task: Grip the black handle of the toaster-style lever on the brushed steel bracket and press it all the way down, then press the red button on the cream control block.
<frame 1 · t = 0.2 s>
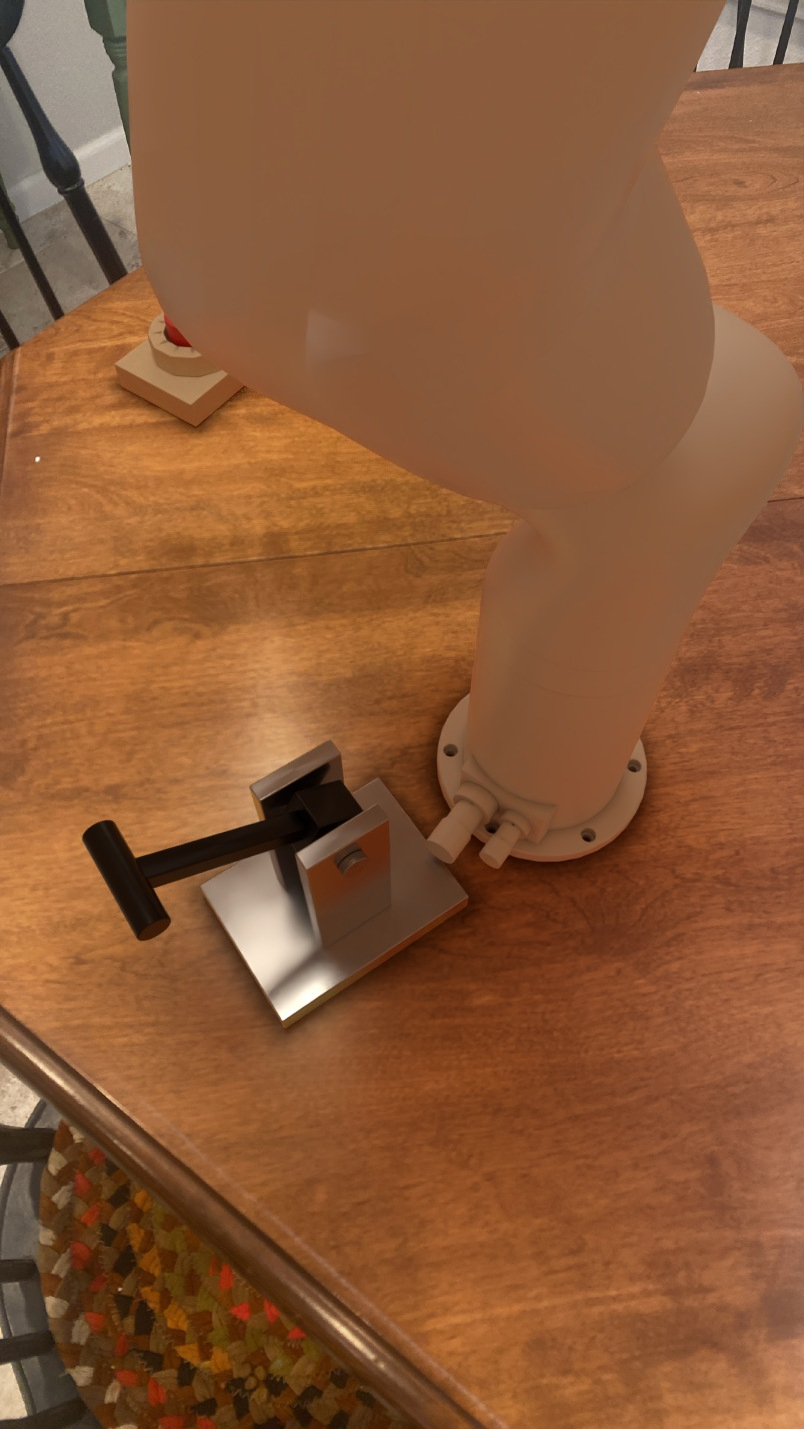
bracket: (335, 900, 54), on the table
dessert: (561, 301, 81), on the table
button: (189, 323, 73), point 4 cm above the table, slide at 0.1 cm
lever: (238, 844, 41), point 13 cm above the table, hinge at 30.0°
button block: (200, 371, 76), on the table
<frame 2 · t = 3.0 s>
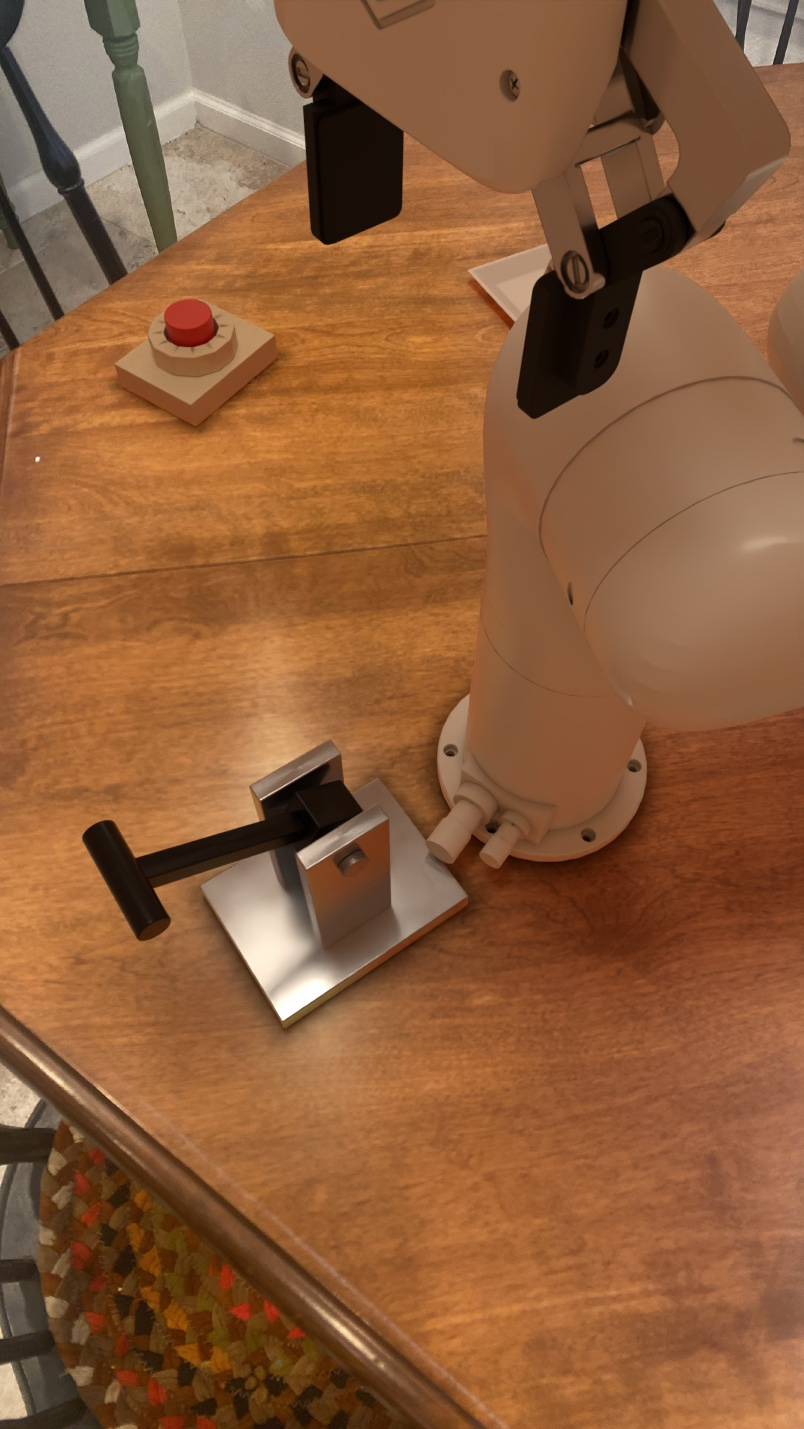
hand: (453, 304, 28), 33 cm above the table, tool pointing down, fingers open, 9 cm apart
nothing on the table moved.
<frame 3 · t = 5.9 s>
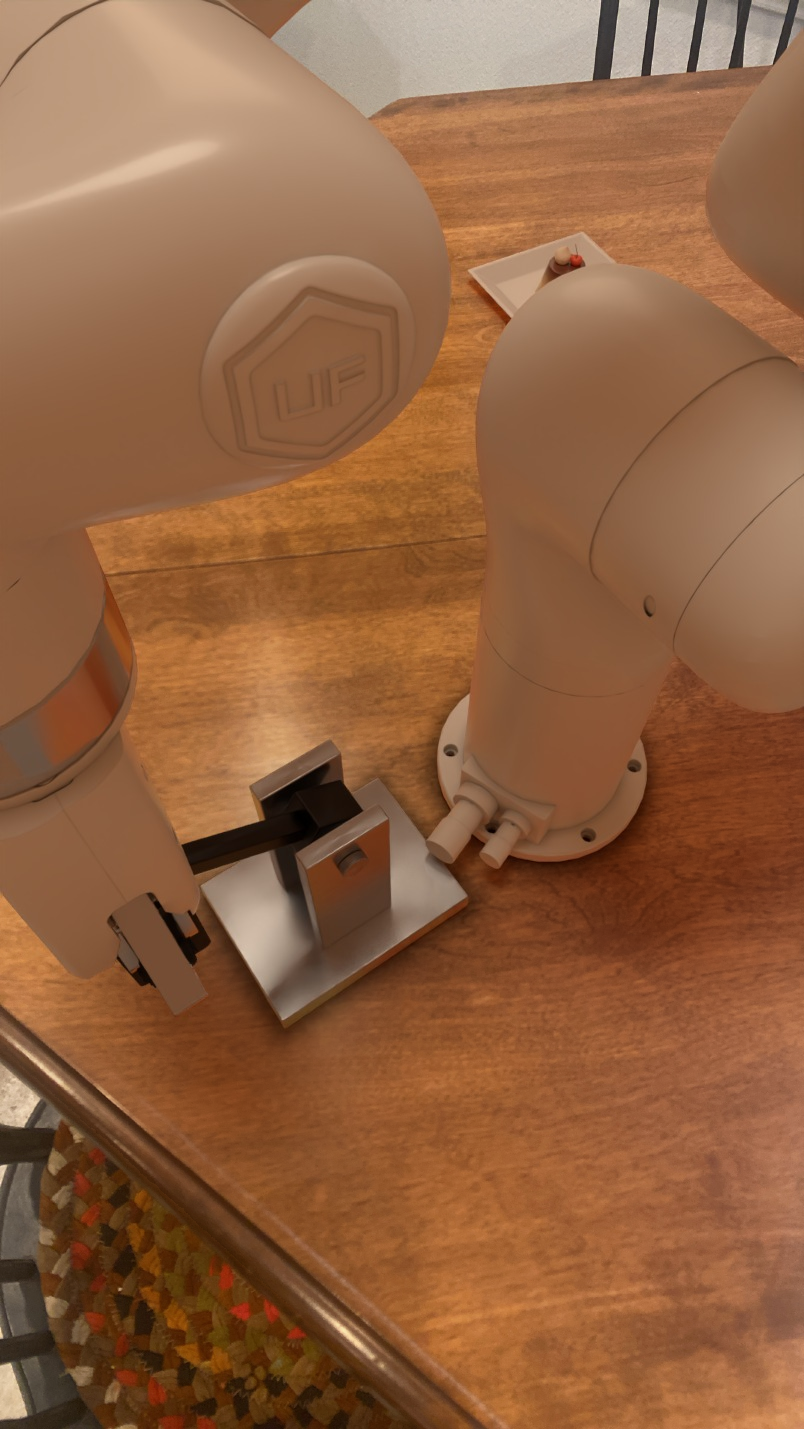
hand: (141, 901, 40), 13 cm above the table, tool pointing down, fingers closed on lever, 5 cm apart
lever: (238, 844, 41), point 13 cm above the table, hinge at 30.0°, touching gripper
everything else where it was.
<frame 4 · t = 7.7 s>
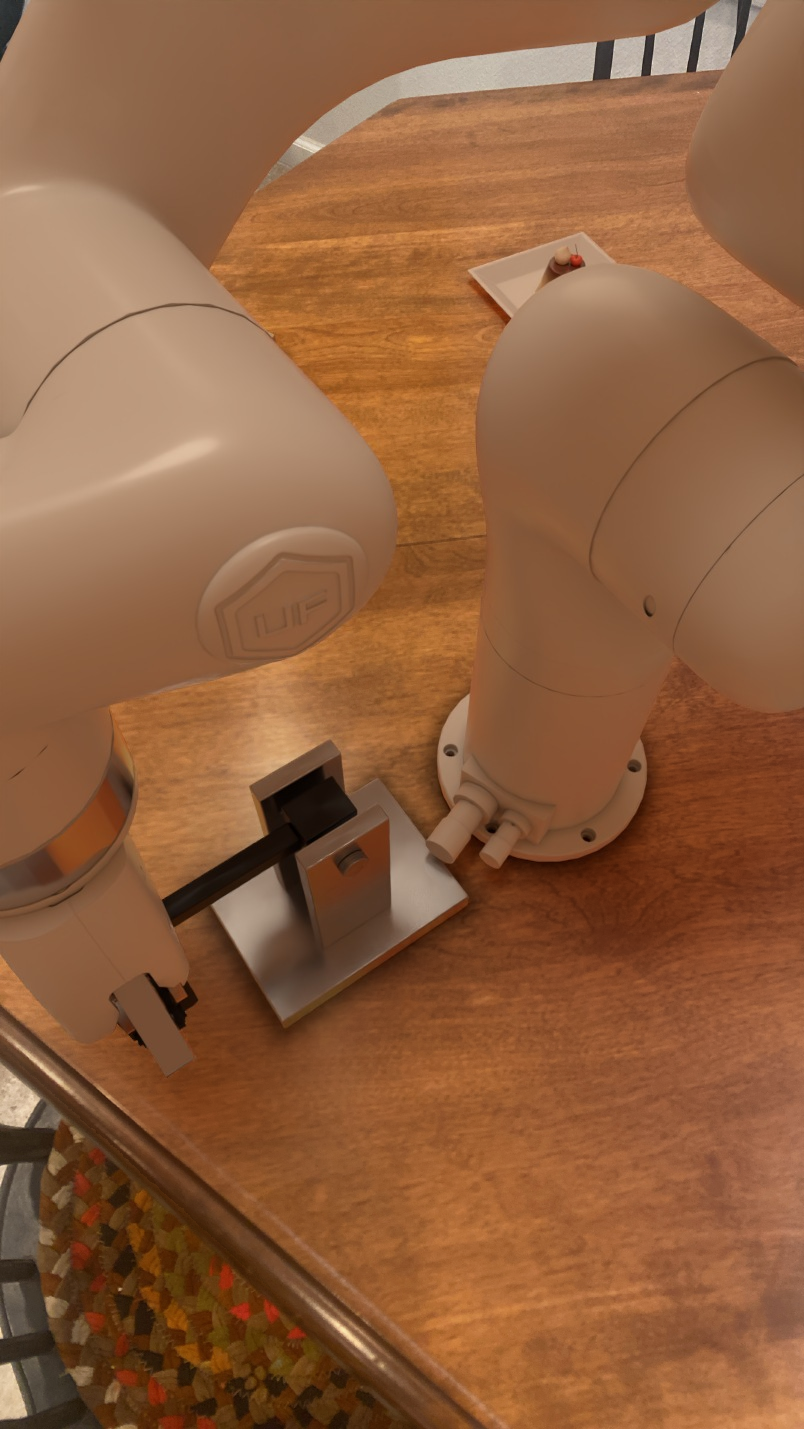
hand: (135, 962, 44), 8 cm above the table, tool pointing down, fingers closed on lever, 5 cm apart
lever: (234, 872, 43), point 11 cm above the table, hinge at -1.1°, touching gripper
everything else where it was.
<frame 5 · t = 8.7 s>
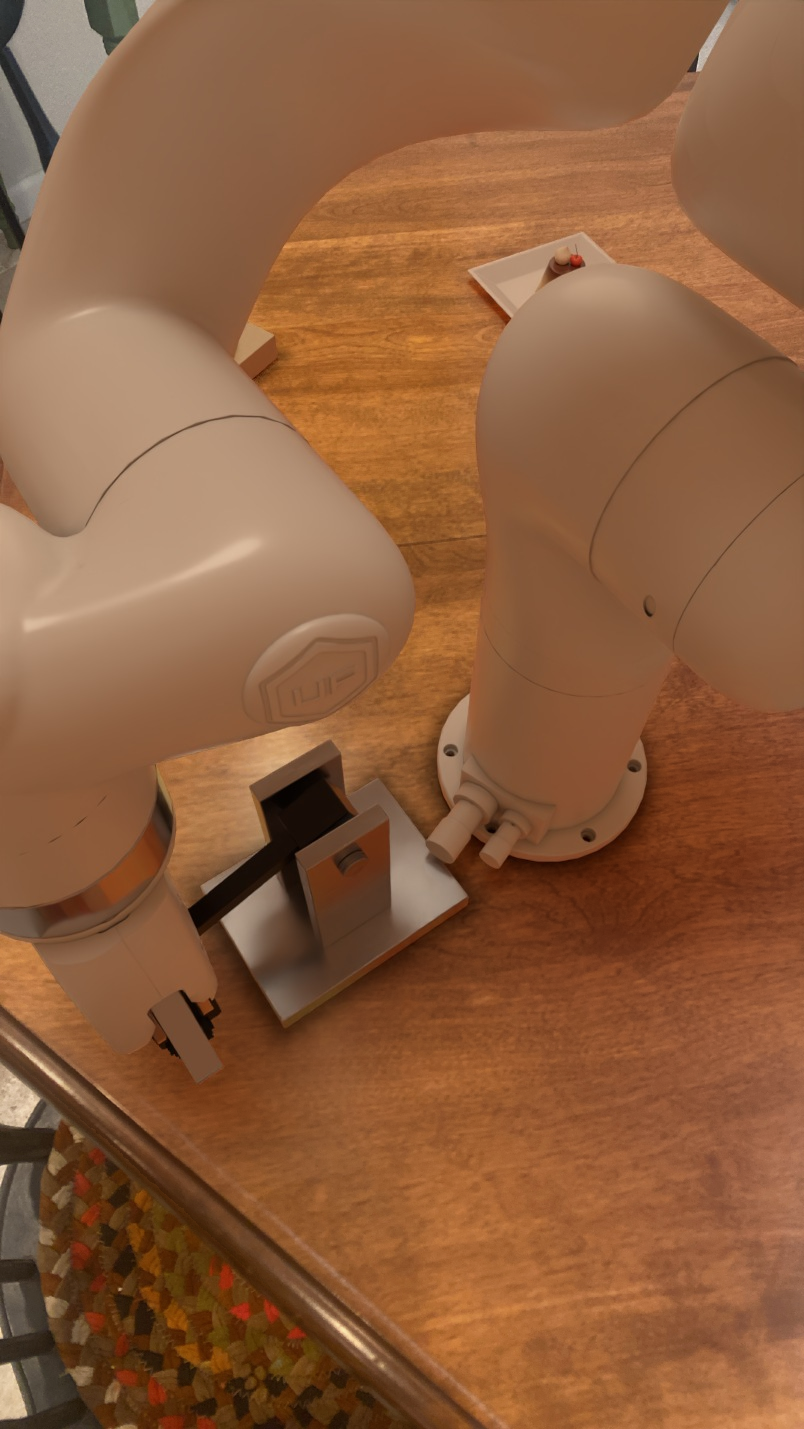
hand: (162, 976, 47), 5 cm above the table, tool pointing down, fingers closed on lever, 5 cm apart
lever: (244, 881, 44), point 9 cm above the table, hinge at -20.2°, touching gripper
everything else where it was.
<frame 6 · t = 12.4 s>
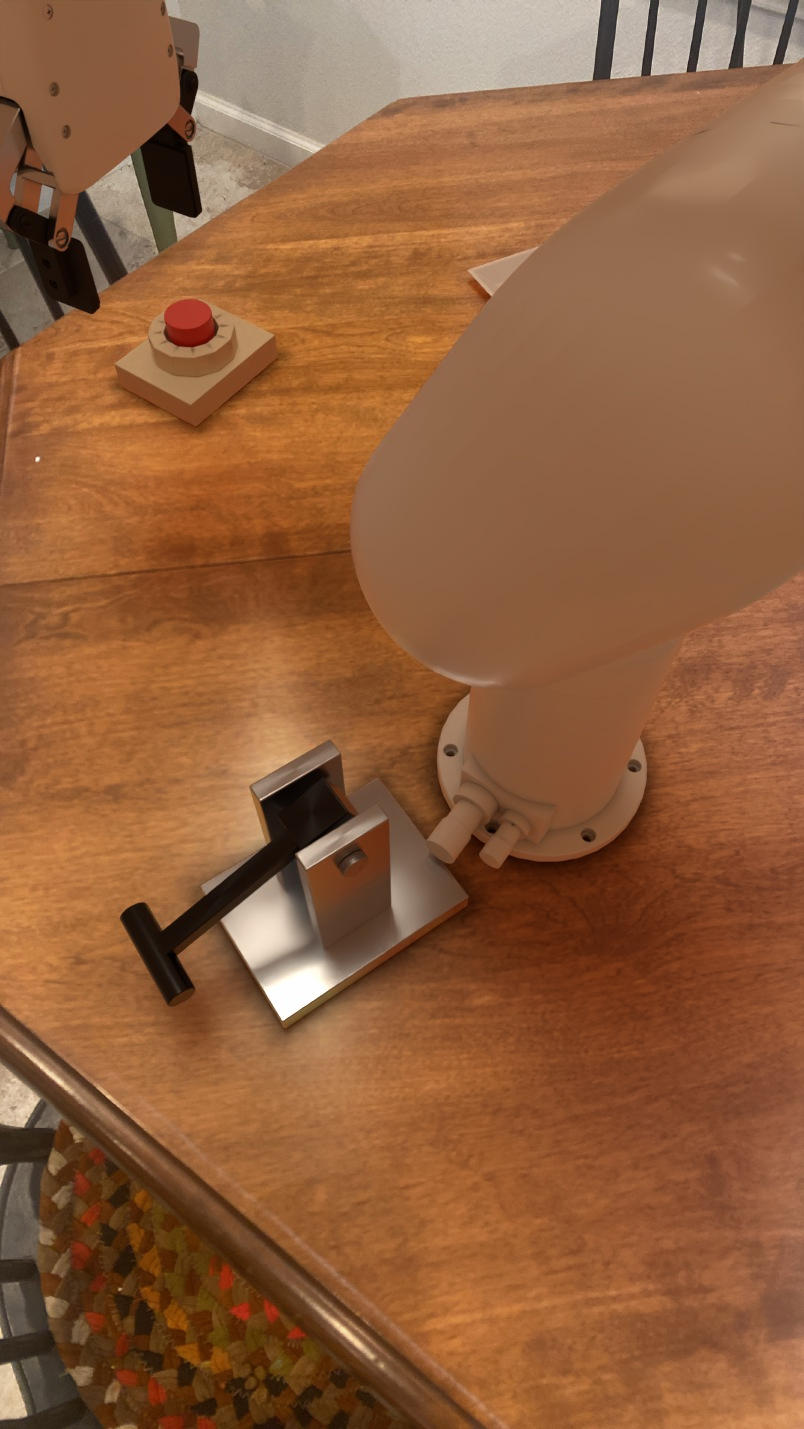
hand: (128, 254, 53), 19 cm above the table, tool pointing down, fingers open, 9 cm apart
lever: (244, 881, 44), point 9 cm above the table, hinge at -20.5°
everything else where it was.
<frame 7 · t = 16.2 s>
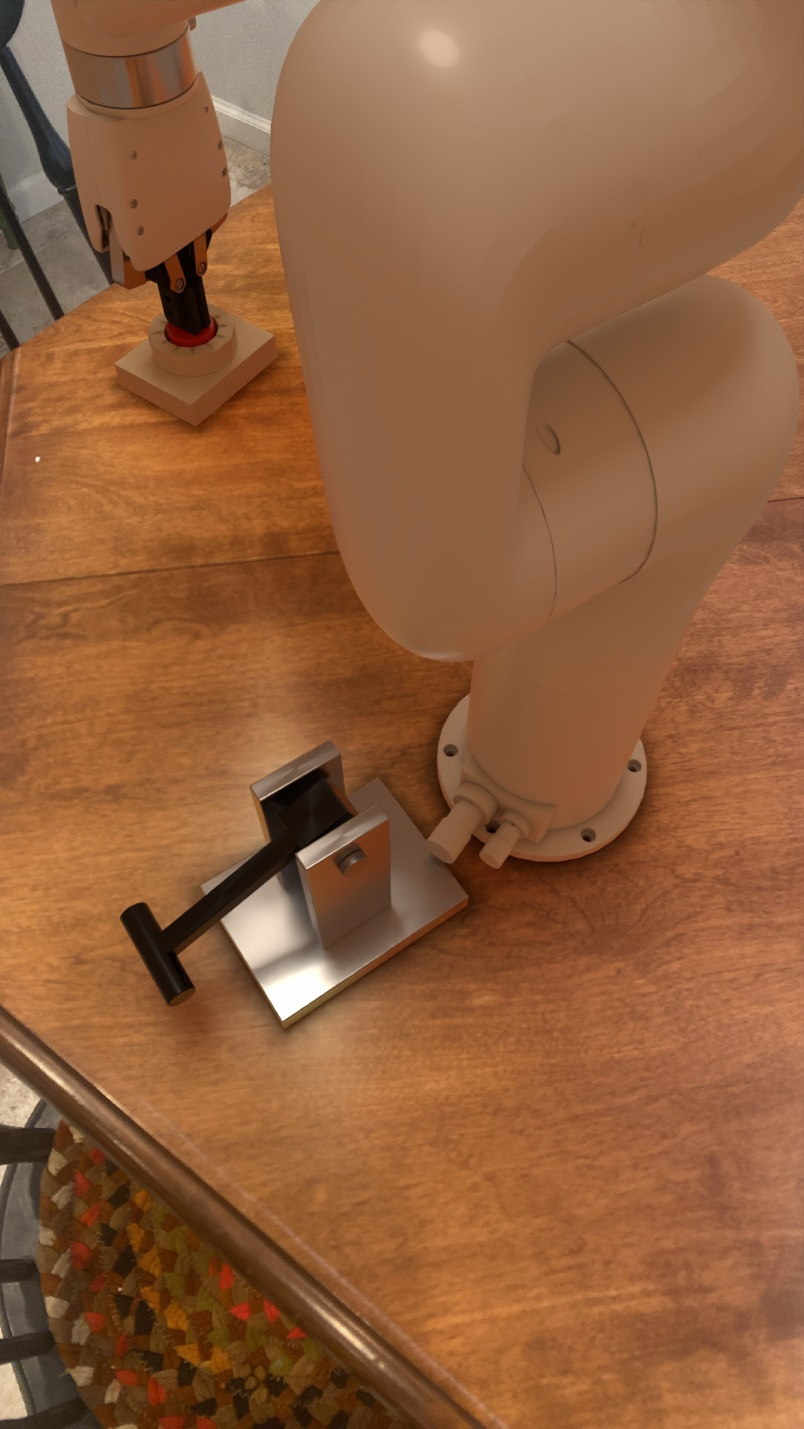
hand: (189, 323, 73), 4 cm above the table, tool pointing down, fingers closed
button: (192, 334, 73), point 3 cm above the table, slide at -0.9 cm, touching gripper
everything else where it was.
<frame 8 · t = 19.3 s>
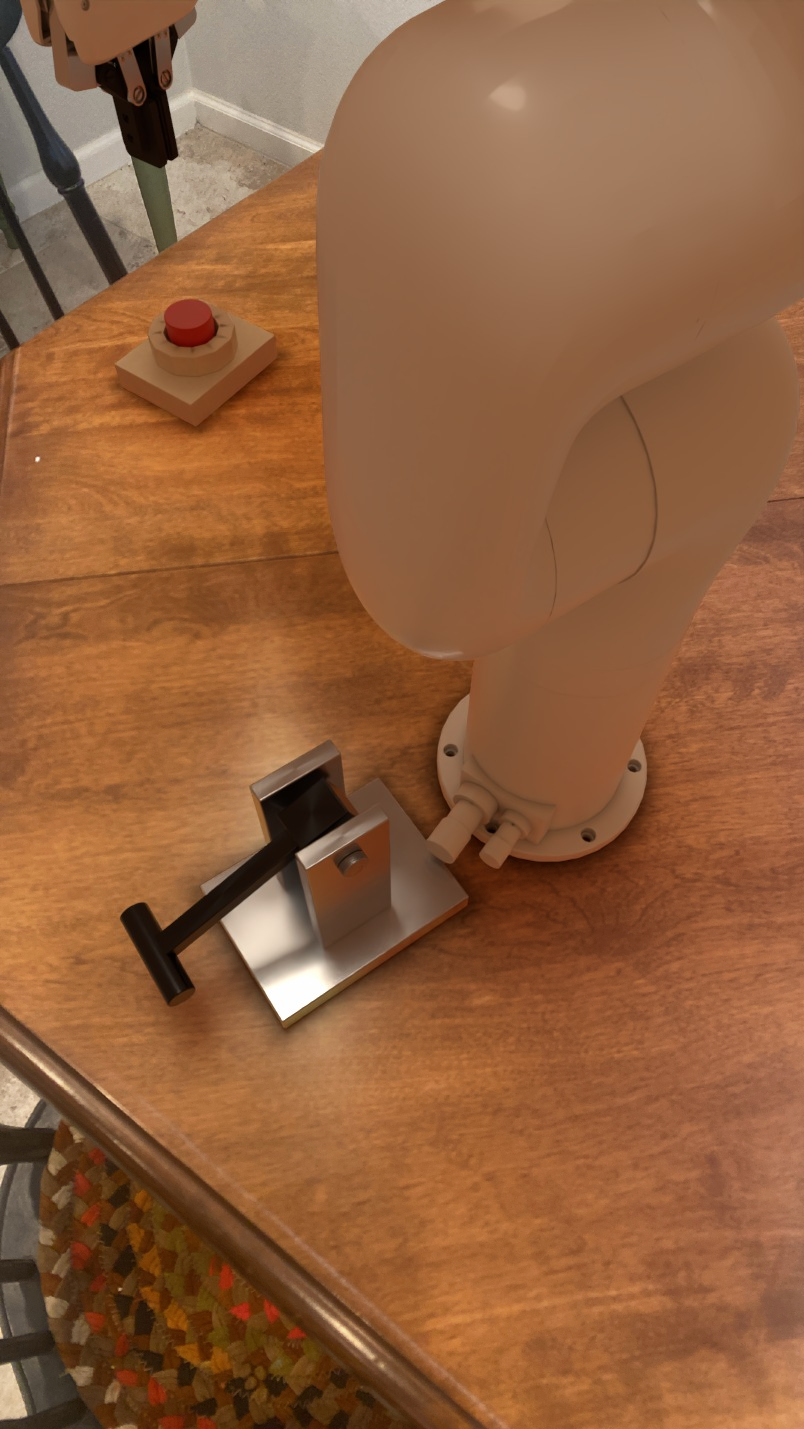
hand: (153, 155, 62), 17 cm above the table, tool pointing down, fingers closed
button: (189, 323, 73), point 4 cm above the table, slide at 0.1 cm
everything else where it was.
at the end: lever at -20° (first picture: +30°); button pushed in 1.1 cm at the most during the clip, back to where it started at the end; button slide at 0.1 cm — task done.
